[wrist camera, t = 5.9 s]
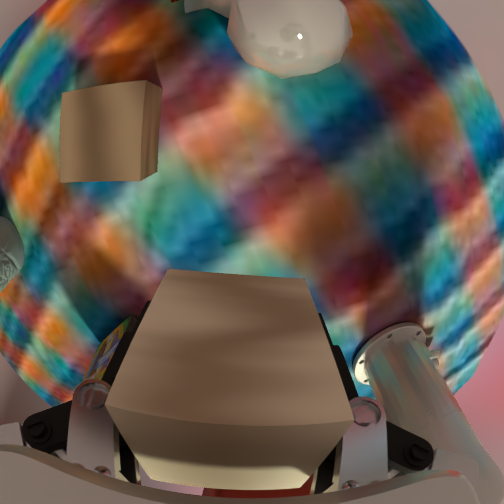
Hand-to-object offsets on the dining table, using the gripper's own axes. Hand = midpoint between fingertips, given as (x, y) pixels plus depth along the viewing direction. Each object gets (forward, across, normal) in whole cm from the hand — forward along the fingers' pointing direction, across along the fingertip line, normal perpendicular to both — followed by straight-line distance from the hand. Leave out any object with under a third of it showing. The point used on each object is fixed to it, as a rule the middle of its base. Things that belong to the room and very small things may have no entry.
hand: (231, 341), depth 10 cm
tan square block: (+17, +12, -8) cm, 22 cm away
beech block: (+1, 0, 0) cm, 1 cm away
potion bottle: (+17, 0, -19) cm, 25 cm away
